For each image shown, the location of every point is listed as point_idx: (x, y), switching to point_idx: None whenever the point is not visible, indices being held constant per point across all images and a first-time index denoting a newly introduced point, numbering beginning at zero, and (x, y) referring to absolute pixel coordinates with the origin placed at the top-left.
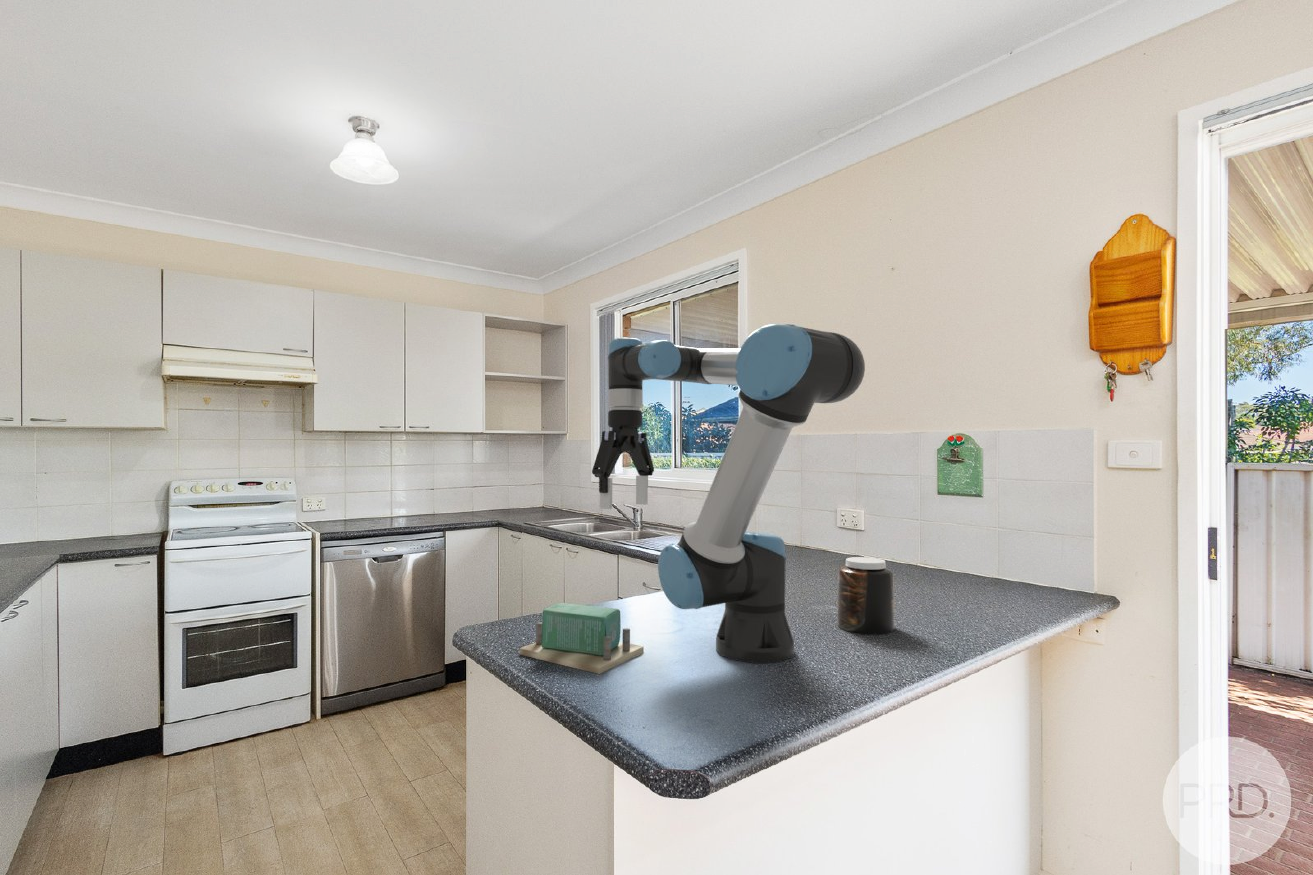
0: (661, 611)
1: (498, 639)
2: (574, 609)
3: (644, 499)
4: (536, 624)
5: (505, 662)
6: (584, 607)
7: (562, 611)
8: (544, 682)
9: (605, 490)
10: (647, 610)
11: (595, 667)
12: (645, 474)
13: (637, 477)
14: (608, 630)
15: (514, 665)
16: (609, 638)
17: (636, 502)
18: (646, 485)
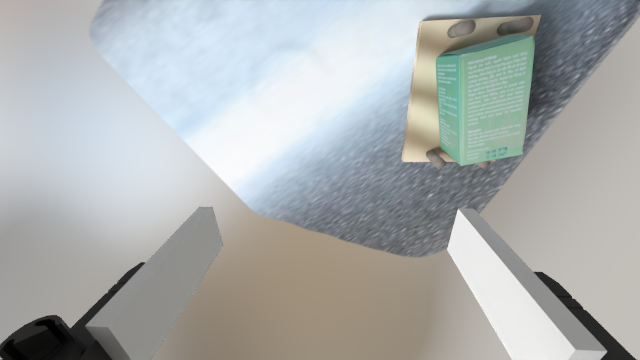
0: (228, 130)
1: (446, 212)
2: (501, 116)
3: (203, 224)
4: (488, 164)
5: None
6: (481, 112)
7: (521, 124)
8: (584, 61)
9: (547, 283)
10: (238, 149)
11: (537, 23)
12: (84, 349)
13: (146, 355)
14: (509, 36)
15: (529, 137)
16: (530, 17)
17: (219, 247)
18: (152, 269)
